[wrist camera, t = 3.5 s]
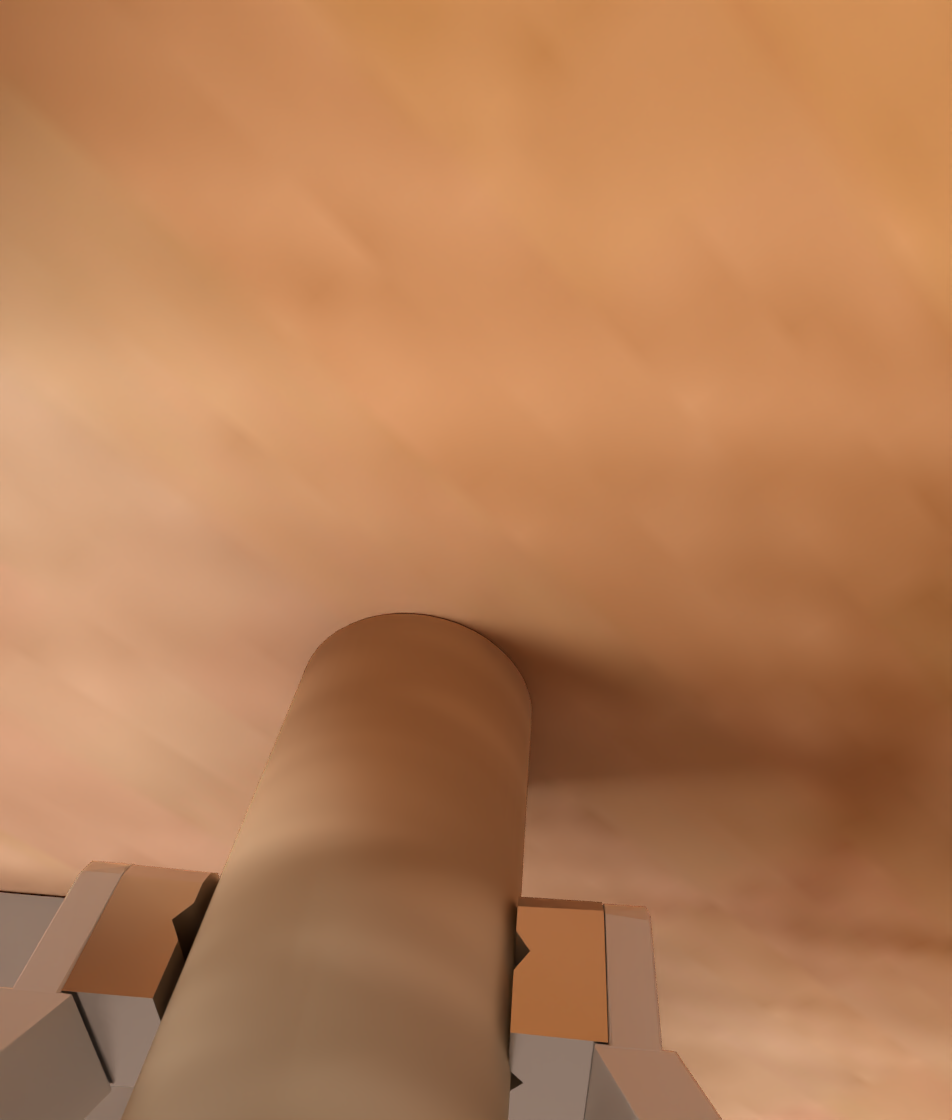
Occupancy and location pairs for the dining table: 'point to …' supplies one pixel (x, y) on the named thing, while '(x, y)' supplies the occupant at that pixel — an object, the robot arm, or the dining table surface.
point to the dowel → (364, 898)
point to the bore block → (5, 948)
